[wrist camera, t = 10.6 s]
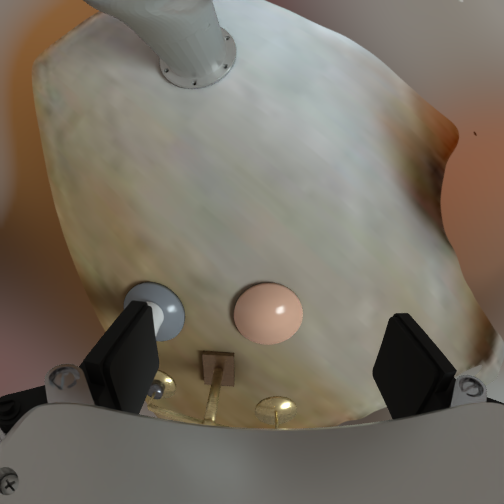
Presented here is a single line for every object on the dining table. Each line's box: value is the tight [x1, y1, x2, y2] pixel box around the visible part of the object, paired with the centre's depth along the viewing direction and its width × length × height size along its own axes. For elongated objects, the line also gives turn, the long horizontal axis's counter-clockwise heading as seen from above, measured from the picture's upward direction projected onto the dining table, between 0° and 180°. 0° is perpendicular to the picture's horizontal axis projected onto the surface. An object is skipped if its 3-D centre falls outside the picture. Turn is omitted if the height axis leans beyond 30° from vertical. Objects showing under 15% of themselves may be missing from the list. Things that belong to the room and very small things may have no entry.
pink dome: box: [234, 283, 303, 345], centre depth 49 cm, size 12×12×1 cm
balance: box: [147, 351, 297, 429], centre depth 45 cm, size 8×29×18 cm, turn 88°
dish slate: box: [124, 282, 185, 341], centre depth 50 cm, size 12×12×1 cm
